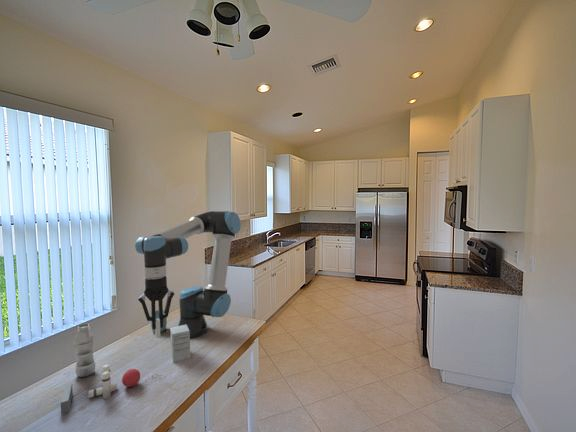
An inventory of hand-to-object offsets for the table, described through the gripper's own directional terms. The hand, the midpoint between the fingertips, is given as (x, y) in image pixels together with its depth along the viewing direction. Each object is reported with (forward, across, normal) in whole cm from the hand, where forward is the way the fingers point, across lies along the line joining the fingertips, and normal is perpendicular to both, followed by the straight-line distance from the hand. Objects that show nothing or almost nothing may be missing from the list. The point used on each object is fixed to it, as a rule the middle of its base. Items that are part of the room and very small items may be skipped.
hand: (157, 336), depth 112 cm
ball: (+13, -10, 0) cm, 16 cm away
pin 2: (+16, -18, -2) cm, 24 cm away
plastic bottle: (+17, -25, +17) cm, 34 cm away
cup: (+17, +5, +43) cm, 46 cm away
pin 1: (+16, -18, +2) cm, 24 cm away
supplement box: (+17, +10, +11) cm, 22 cm away
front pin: (+15, -14, 0) cm, 21 cm away
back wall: (+16, -29, 0) cm, 33 cm away
